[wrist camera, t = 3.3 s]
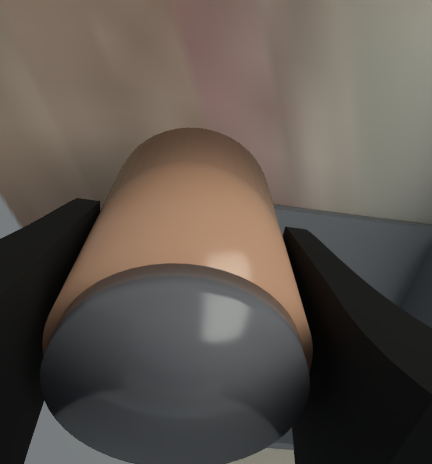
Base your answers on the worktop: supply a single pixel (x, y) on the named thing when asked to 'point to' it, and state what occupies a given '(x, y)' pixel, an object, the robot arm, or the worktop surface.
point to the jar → (180, 313)
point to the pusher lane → (373, 258)
